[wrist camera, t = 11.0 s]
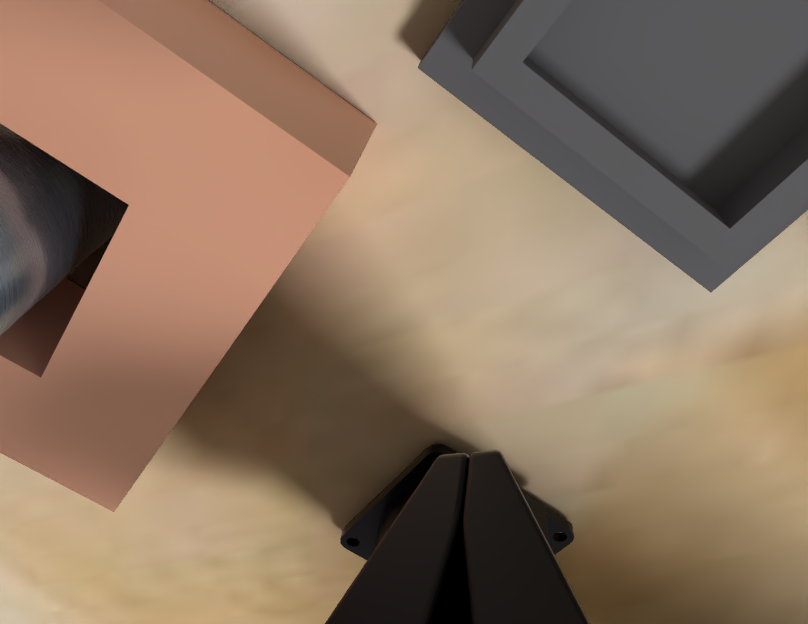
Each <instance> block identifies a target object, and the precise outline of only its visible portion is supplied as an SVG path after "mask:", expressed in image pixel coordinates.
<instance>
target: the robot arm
mask: <svg viewBox="0 0 808 624" xmlns="http://www.w3.org/2000/svg"><path fill="white" fill-rule="evenodd" d="M436 457H437V459H435V458H436ZM557 532H562V533H557ZM573 539H574V532H573V527H572V524H571V523H570V522H569V521H567V520H565V519H564V518H562V517H561V516H559V515H557V514H556V513H554V512H553V511H551V510H549V509H548V508H546V507H545V506H543V505H542V504H540V503H539V502H537V501H535V500H534V499H532V498H530V497H529V496H527V495H526V494H524V493H522V492H521V490H520V488H519V486H518V484H517V482H516V480H515V478H514V476H513V474H512V472H511V470H510V468H509V467H508V465H507V463H506V461H505V459H504V457H503V455H502V453H501V452H500V451H498V450H490V451H479V452H473V453H472V454H471V455H470V457H469V455H468V454H466V453H457V452H456V451H454V450H453V449H451V448H449V447H448V446H445V445H443V444H435V445H431V446H430V447H428V448H427V449H426V450H425V451H424V452H423V453H422V454H421V455H420V456H419V457H418V458H417V459H416V460H414V461H413V462H412V463H411V464H410V465H409V466H408V467H407V468H406V469H405V470H404V471H403V472H402V473H401V474H400V475H399V476H398V477H397V478H396V479H395V480H394V481H393V482H392V483H391V484H389V485H388V486H387V487H386V488H385V489H384V490H383V491H382V492H381V493H380V494H379V495H378V496H377V497H376V498H375V499H374V500H373V501H372V502H371V503H370V504H369V505H368V506H367V507H366V508H364V509H363V510H362V511H361V512H360V513H359V514H358V515H357V516H356V517H355V518H354V519H353V520H352V521H351V522H350V523H349V524H348V525H347V526H346V527H345V528H344V529H343V531H342V535H341V539H340V540H341V544H342V546H343V547H345V548H346V549H348V550H350V551H351V552H353V553H355V554H357V555H359V556H360V557H362V558H364V559H366V560H368V561H367V562H366V564H365V565H364V567H363V568H362V570H361V571H360V572H359V574H358V575H357V577H356V578H355V580H354V581H353V583H352V584H351V586H350V587H349V589H348V590H347V592H346V593H345V595H344V596H343V598H342V599H341V601H340V602H339V604H338V605H337V607H336V608H335V610H334V611H333V612H332V614H331V615H330V617H329V618H328V620H327V621H326V623H325V624H590V623H589V621H588V619H587V617H586V615H585V613H584V611H583V609H582V607H581V606H580V604H579V602H578V600H577V598H576V596H575V594H574V592H573V590H572V588H571V586H570V584H569V582H568V580H567V578H566V577H565V575H564V573H563V571H562V569H561V567H560V565H559V563H558V561H557V559H556V557H555V554H556V553H558V552H559V551H560V550H562V549H563V548H565V547H566V546H567V545H569V544H570V543H571V542H572V541H573Z"/></svg>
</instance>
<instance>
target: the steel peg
mask: <svg viewBox="0 0 808 624" xmlns="http://www.w3.org/2000/svg"><path fill="white" fill-rule="evenodd" d="M128 206H129V205H128V204H127V203H125V202H123V201H122V200H120V199H119V198H117V197H116V196H114V195H112V194H111V193H109V192H108V191H106V190H105V189H103V188H101V187H100V186H98V185H97V184H95V183H93V182H92V181H90V180H89V179H87V178H86V177H84V176H82V175H81V174H79V173H78V172H76V171H75V170H73V169H71V168H70V167H68V166H67V165H65V164H64V163H62V162H60V161H59V160H57V159H56V158H54V157H53V156H51V155H49V154H48V153H46V152H45V151H43V150H42V149H40V148H38V147H37V146H35V145H34V144H32V143H31V142H29V141H27V140H26V139H24V138H23V137H21V136H20V135H18V134H16V133H15V132H13V131H12V130H10V129H9V128H7V127H5V126H4V125H2V124H1V123H0V336H1V335H2V334H3V333H4V332H5V331H6V330H7V329H8V328H10V327H11V326H12V325H13V324H14V323H15V322H16V321H17V320H19V319H20V318H21V317H22V316H23V315H24V314H25V313H26V312H27V311H29V310H30V309H31V308H32V307H33V306H34V305H35V304H36V303H37V302H39V301H40V300H41V299H42V298H43V297H44V296H45V295H46V294H48V293H49V292H50V291H51V290H52V289H53V288H54V287H55V286H56V285H58V284H59V283H60V282H61V281H62V280H63V279H64V278H65V277H67V276H68V275H69V274H70V273H71V272H72V271H73V270H74V269H75V268H77V267H78V266H79V265H80V264H81V263H82V262H83V261H84V260H86V259H87V258H88V257H89V256H90V255H91V254H92V253H93V252H94V251H96V250H97V249H98V248H99V247H100V246H101V245H102V244H103V243H104V242H106V241H107V240H108V239H109V238H110V237H111V236H112V235H113V234H115V232H116V230H117V228H118V226H119V224H120V222H121V220H122V218H123V216H124V214H125V212H126V210H127V208H128Z"/></svg>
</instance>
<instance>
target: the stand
mask: <svg viewBox="0 0 808 624" xmlns="http://www.w3.org/2000/svg"><path fill="white" fill-rule="evenodd" d="M418 68H419V69H420V70H421V71H423V72H424V73H425V74H426V75H428V76H429V77H430V78H432V79H433V80H434V81H436V82H437V83H438V84H439V85H441V86H442V87H443V88H445V89H446V90H447V91H449V92H450V93H451V94H453V95H454V96H455V97H456V98H458V99H459V100H460V101H462V102H463V103H464V104H466V105H467V106H468V107H469V108H471V109H472V110H473V111H475V112H476V113H477V114H479V115H480V116H481V117H483V118H484V119H485V120H486V121H488V122H489V123H490V124H492V125H493V126H494V127H496V128H497V129H498V130H500V131H501V132H502V133H503V134H505V135H506V136H507V137H509V138H510V139H511V140H513V141H514V142H515V143H516V144H518V145H519V146H520V147H522V148H523V149H524V150H526V151H527V152H528V153H530V154H531V155H532V156H533V157H535V158H536V159H537V160H539V161H540V162H541V163H543V164H544V165H545V166H546V167H548V168H549V169H550V170H552V171H553V172H554V173H556V174H557V175H558V176H560V177H561V178H562V179H563V180H565V181H566V182H567V183H569V184H570V185H571V186H573V187H574V188H575V189H577V190H578V191H579V192H580V193H582V194H583V195H584V196H586V197H587V198H588V199H590V200H591V201H592V202H593V203H595V204H596V205H597V206H599V207H600V208H601V209H603V210H604V211H605V212H607V213H608V214H609V215H610V216H612V217H613V218H614V219H616V220H617V221H618V222H620V223H621V224H622V225H624V226H625V227H626V228H627V229H629V230H630V231H631V232H633V233H634V234H635V235H637V236H638V237H639V238H640V239H642V240H643V241H644V242H646V243H647V244H648V245H650V246H651V247H652V248H654V249H655V250H656V251H657V252H659V253H660V254H661V255H663V256H664V257H665V258H667V259H668V260H669V261H670V262H672V263H673V264H674V265H676V266H677V267H678V268H680V269H681V270H682V271H684V272H685V273H686V274H687V275H689V276H690V277H691V278H693V279H694V280H695V281H697V282H698V283H699V284H701V285H702V286H703V287H704V288H706V289H707V290H708V291H710V292H712V291H713V290H715V289H716V288H717V287H718V286H719V285H720V284H722V283H723V282H724V281H725V280H726V279H727V278H729V277H730V276H731V275H732V274H733V273H734V272H736V271H737V270H738V269H739V268H740V267H741V266H743V265H744V264H745V263H746V262H747V261H748V260H750V259H751V258H752V257H753V256H754V255H755V254H757V253H758V252H759V251H760V250H761V249H762V248H764V247H765V246H766V245H767V244H768V243H769V242H771V241H772V240H773V239H774V238H775V237H777V236H778V235H779V234H780V233H781V232H782V231H784V230H785V229H786V228H787V227H788V226H789V225H791V224H792V223H793V222H794V221H795V220H796V219H798V218H799V217H800V216H801V215H802V214H803V213H805V212H806V211H807V210H808V0H463V1H462V2H461V4H460V5H459V7H458V8H457V10H456V11H455V12H454V14H453V15H452V17H451V18H450V20H449V21H448V22H447V24H446V25H445V27H444V28H443V30H442V31H441V33H440V34H439V35H438V37H437V38H436V40H435V41H434V43H433V44H432V45H431V47H430V48H429V50H428V51H427V53H426V54H425V56H424V57H423V58H422V60H421V62H420V64H419V66H418Z"/></svg>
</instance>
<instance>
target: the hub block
mask: <svg viewBox="0 0 808 624" xmlns="http://www.w3.org/2000/svg"><path fill="white" fill-rule="evenodd" d="M0 123H1V124H2V125H4V126H5V127H7V128H9V129H10V130H12V131H13V132H15V133H16V134H18V135H20V136H21V137H23V138H24V139H26V140H27V141H29V142H31V143H32V144H34V145H35V146H37V147H38V148H40V149H42V150H43V151H45V152H46V153H48V154H49V155H51V156H53V157H54V158H56V159H57V160H59V161H60V162H62V163H64V164H65V165H67V166H68V167H70V168H71V169H73V170H75V171H76V172H78V173H79V174H81V175H82V176H84V177H86V178H87V179H89V180H90V181H92V182H93V183H95V184H97V185H98V186H100V187H101V188H103V189H105V190H106V191H108V192H109V193H111V194H112V195H114V196H116V197H117V198H119V199H120V200H122V201H123V202H125V203H127V204H128V205H129V206H128V208H127V210H126V212H125V214H124V216H123V218H122V220H121V222H120V224H119V226H118V228H117V230H116V232H115V234H114V236H113V238H112V240H111V242H110V243H109V245H108V247H107V249H106V251H105V253H104V255H103V257H102V259H101V261H100V263H99V265H98V267H97V269H96V271H95V273H94V275H93V277H92V279H91V281H90V283H89V285H88V287H87V289H86V290H85V289H83V288H82V287H80V286H78V285H77V284H75V283H73V282H72V281H70V280H68V279H67V278H64V279H63V280H62V281H61V282H60V283H59V284H58V285H56V286H55V287H54V288H53V289H52V290H51V291H50V292H49V293H48V294H46V295H45V296H44V297H43V298H42V299H41V300H40V301H39V302H37V303H36V304H35V305H34V306H33V307H32V308H31V309H30V310H29V311H27V312H26V313H25V314H24V315H23V316H22V317H21V318H20V319H19V320H17V321H16V322H15V323H14V324H13V325H12V326H11V327H10V328H8V329H7V330H6V331H5V332H4V333H3V334H2V335H1V336H0V453H2V454H4V455H6V456H8V457H10V458H11V459H13V460H15V461H17V462H19V463H21V464H23V465H25V466H27V467H29V468H31V469H33V470H34V471H36V472H38V473H40V474H42V475H44V476H46V477H48V478H50V479H52V480H54V481H56V482H57V483H59V484H61V485H63V486H65V487H67V488H69V489H71V490H73V491H75V492H77V493H79V494H80V495H82V496H84V497H86V498H88V499H90V500H92V501H94V502H96V503H98V504H100V505H102V506H103V507H105V508H107V509H109V510H111V511H113V512H114V511H115V510H116V508H117V507H118V506H119V504H120V503H121V501H122V500H123V498H124V497H125V496H126V494H127V493H128V491H129V490H130V489H131V487H132V486H133V484H134V483H135V481H136V480H137V479H138V477H139V476H140V474H141V473H142V471H143V470H144V469H145V467H146V466H147V464H148V463H149V462H150V460H151V459H152V457H153V456H154V454H155V453H156V452H157V450H158V449H159V447H160V446H161V444H162V443H163V442H164V440H165V439H166V437H167V436H168V435H169V433H170V432H171V430H172V429H173V427H174V426H175V425H176V423H177V422H178V420H179V419H180V417H181V416H182V415H183V413H184V412H185V410H186V409H187V408H188V406H189V405H190V403H191V402H192V400H193V399H194V398H195V396H196V395H197V393H198V392H199V390H200V389H201V388H202V386H203V385H204V383H205V382H206V381H207V379H208V378H209V376H210V375H211V373H212V372H213V371H214V369H215V368H216V366H217V365H218V364H219V362H220V361H221V359H222V358H223V356H224V355H225V354H226V352H227V351H228V349H229V348H230V346H231V345H232V344H233V342H234V341H235V339H236V338H237V337H238V335H239V334H240V332H241V331H242V329H243V328H244V327H245V325H246V324H247V322H248V321H249V319H250V318H251V317H252V315H253V314H254V312H255V311H256V310H257V308H258V307H259V305H260V304H261V302H262V301H263V300H264V298H265V297H266V295H267V294H268V292H269V291H270V290H271V288H272V287H273V285H274V284H275V283H276V281H277V280H278V278H279V277H280V275H281V274H282V273H283V271H284V270H285V268H286V267H287V265H288V264H289V263H290V261H291V260H292V258H293V257H294V256H295V254H296V253H297V251H298V250H299V248H300V247H301V246H302V244H303V243H304V241H305V240H306V238H307V237H308V236H309V234H310V233H311V231H312V230H313V229H314V227H315V226H316V224H317V223H318V221H319V220H320V219H321V217H322V216H323V214H324V213H325V212H326V210H327V209H328V207H329V206H330V204H331V203H332V202H333V200H334V199H335V197H336V196H337V194H338V193H339V192H340V190H341V189H342V187H343V186H344V185H345V183H346V182H347V180H348V179H349V177H350V176H351V174H352V172H353V170H354V168H355V166H356V164H357V162H358V160H359V158H360V156H361V154H362V152H363V150H364V148H365V146H366V144H367V142H368V141H369V139H370V137H371V135H372V133H373V131H374V129H375V127H376V125H377V124H376V123H375V122H374V121H372V120H371V119H370V118H368V117H367V116H365V115H364V114H363V113H361V112H360V111H359V110H357V109H356V108H355V107H353V106H352V105H350V104H349V103H348V102H346V101H345V100H344V99H342V98H341V97H339V96H338V95H337V94H335V93H334V92H333V91H331V90H330V89H329V88H327V87H326V86H324V85H323V84H322V83H320V82H319V81H318V80H316V79H315V78H313V77H312V76H311V75H309V74H308V73H307V72H305V71H304V70H303V69H301V68H300V67H298V66H297V65H296V64H294V63H293V62H292V61H290V60H289V59H288V58H286V57H285V56H283V55H282V54H281V53H279V52H278V51H277V50H275V49H274V48H272V47H271V46H270V45H268V44H267V43H266V42H264V41H263V40H262V39H260V38H259V37H257V36H256V35H255V34H253V33H252V32H251V31H249V30H248V29H246V28H245V27H244V26H242V25H241V24H240V23H238V22H237V21H236V20H234V19H233V18H231V17H230V16H229V15H227V14H226V13H225V12H223V11H222V10H221V9H219V8H218V7H216V6H215V5H214V4H212V3H211V2H210V1H208V0H0Z"/></svg>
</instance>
